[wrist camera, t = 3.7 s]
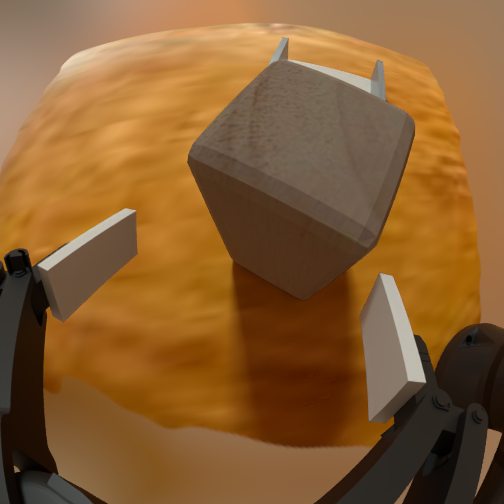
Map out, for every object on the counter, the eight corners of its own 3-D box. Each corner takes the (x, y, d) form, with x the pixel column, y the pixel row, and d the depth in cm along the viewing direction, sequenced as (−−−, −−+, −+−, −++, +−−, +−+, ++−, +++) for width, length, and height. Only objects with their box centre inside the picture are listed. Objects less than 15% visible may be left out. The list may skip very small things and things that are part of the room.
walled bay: (376, 130, 36) (387, 106, 30) (262, 101, 38) (261, 75, 32) (376, 84, 39) (384, 62, 33) (280, 60, 41) (281, 37, 36)
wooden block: (344, 230, 31) (423, 115, 12) (305, 304, 29) (376, 259, 10) (272, 191, 33) (275, 51, 14) (228, 259, 31) (174, 153, 12)
